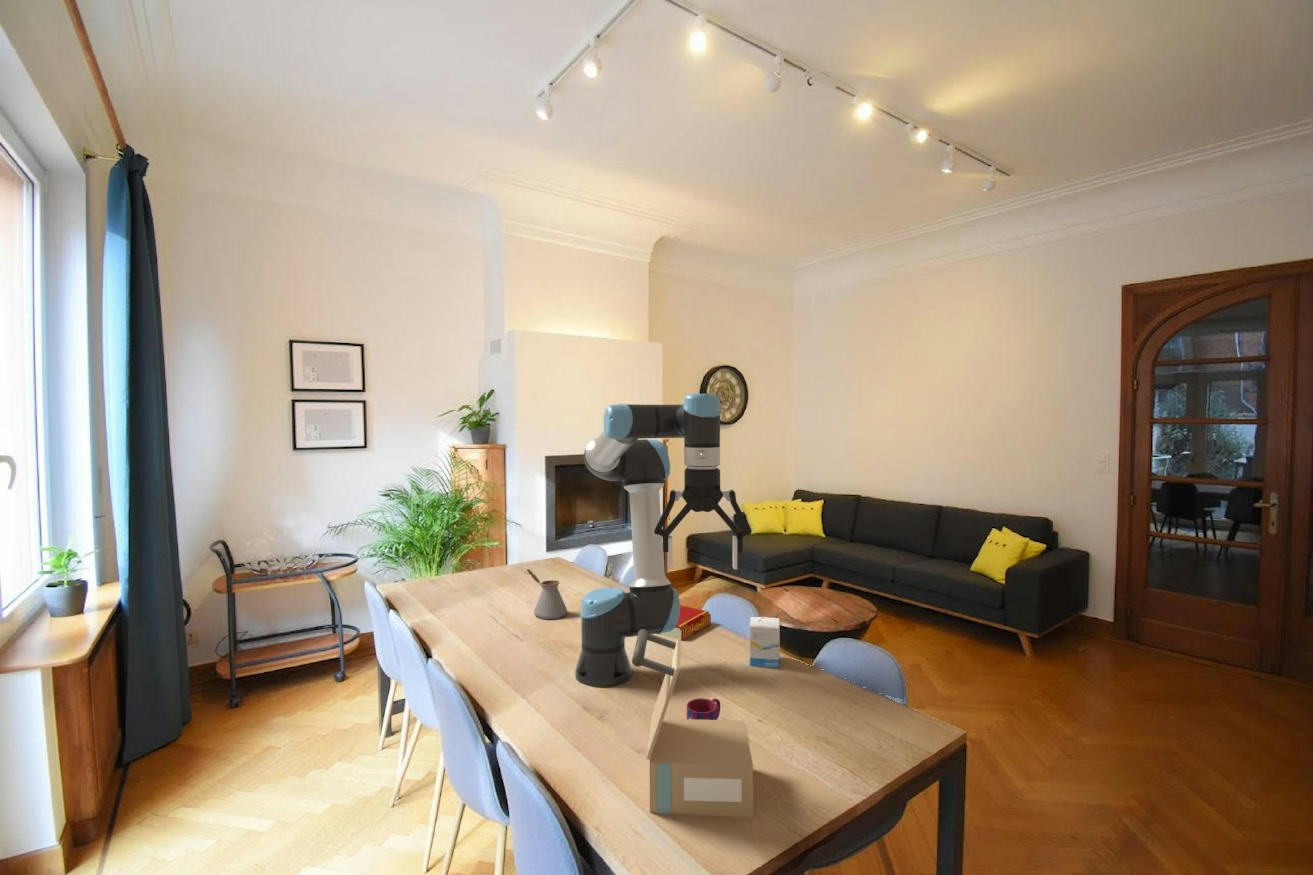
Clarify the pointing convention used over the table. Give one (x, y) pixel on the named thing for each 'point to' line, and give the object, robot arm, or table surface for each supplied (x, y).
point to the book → (689, 623)
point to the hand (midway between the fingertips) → (702, 567)
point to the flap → (668, 681)
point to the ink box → (764, 642)
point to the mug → (703, 709)
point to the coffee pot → (549, 600)
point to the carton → (702, 769)
